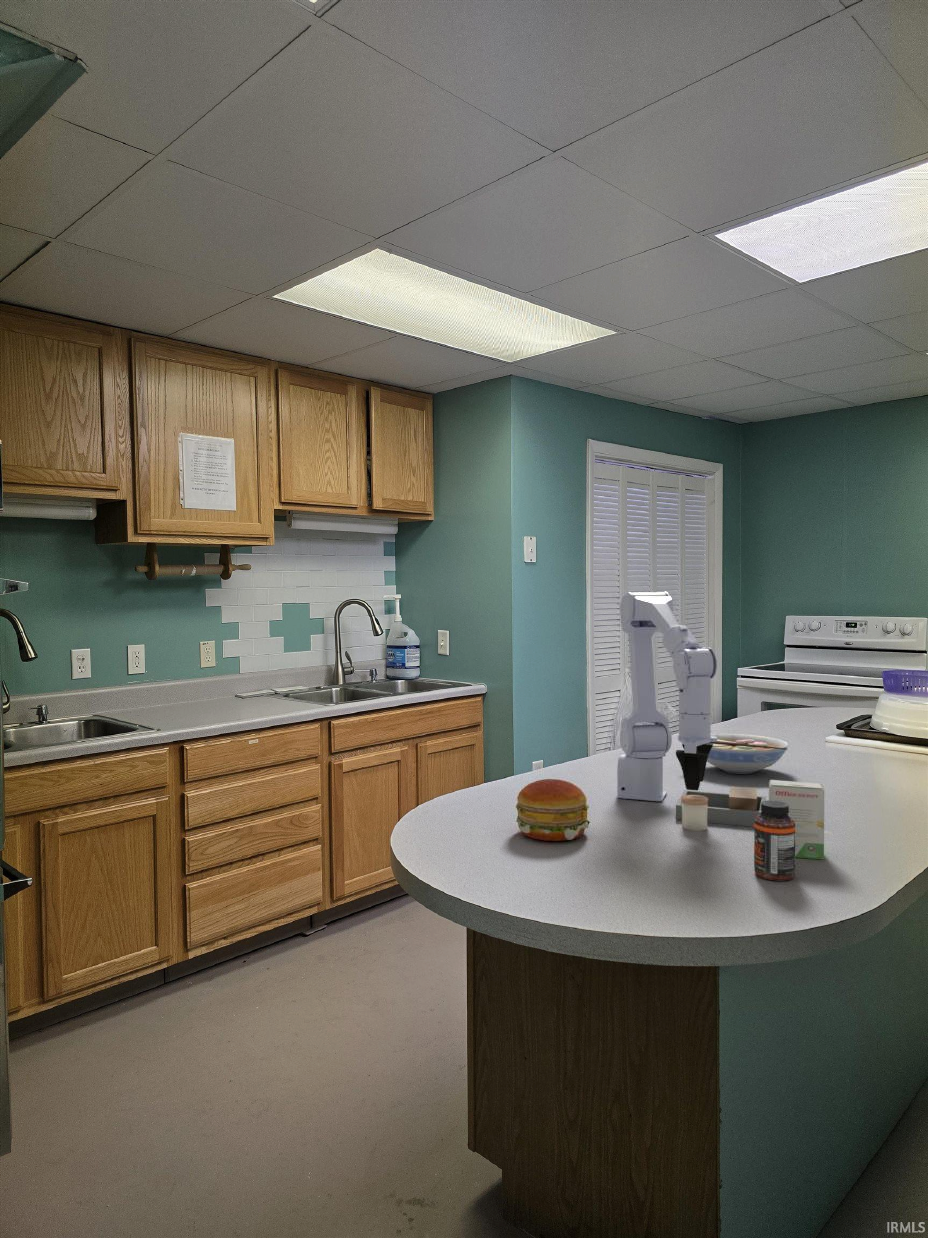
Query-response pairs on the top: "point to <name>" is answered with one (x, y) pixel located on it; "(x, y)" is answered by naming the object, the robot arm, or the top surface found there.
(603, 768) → the top surface
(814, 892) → the top surface
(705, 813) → the jar
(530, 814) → the burger
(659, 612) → the robot arm
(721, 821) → the tote
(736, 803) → the block
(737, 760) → the ramen bowl
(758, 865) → the supplement bottle
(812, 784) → the ink box
